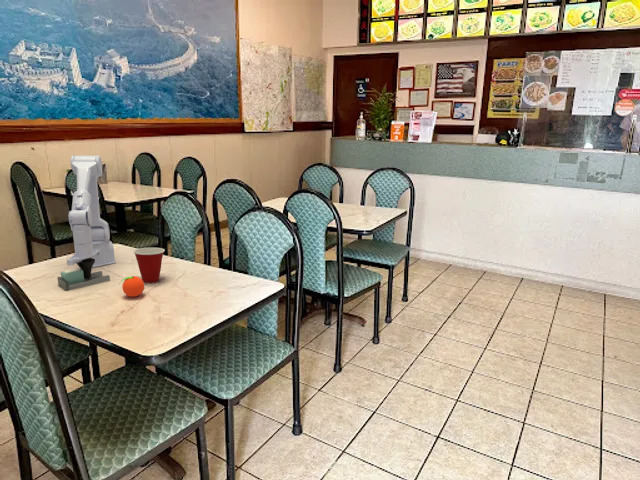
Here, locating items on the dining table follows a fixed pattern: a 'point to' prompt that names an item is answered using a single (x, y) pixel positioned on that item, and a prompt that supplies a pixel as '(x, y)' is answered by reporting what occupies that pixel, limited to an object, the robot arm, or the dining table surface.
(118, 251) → the dining table surface
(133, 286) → the clementine
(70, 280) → the module
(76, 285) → the rail
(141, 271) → the plastic cup
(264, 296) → the dining table surface
